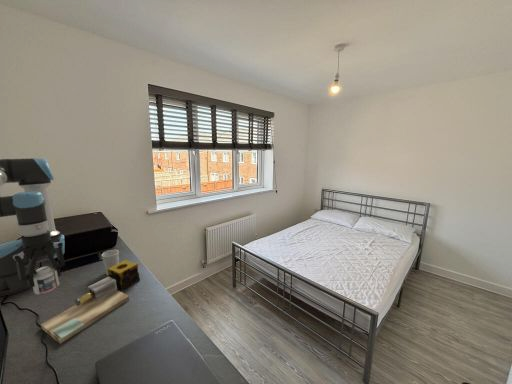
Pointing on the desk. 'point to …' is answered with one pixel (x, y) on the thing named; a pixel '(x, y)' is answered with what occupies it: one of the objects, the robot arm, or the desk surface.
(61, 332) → the wooden base board
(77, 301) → the pin
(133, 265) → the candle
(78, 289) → the desk surface
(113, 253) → the cup
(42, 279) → the pill bottle
